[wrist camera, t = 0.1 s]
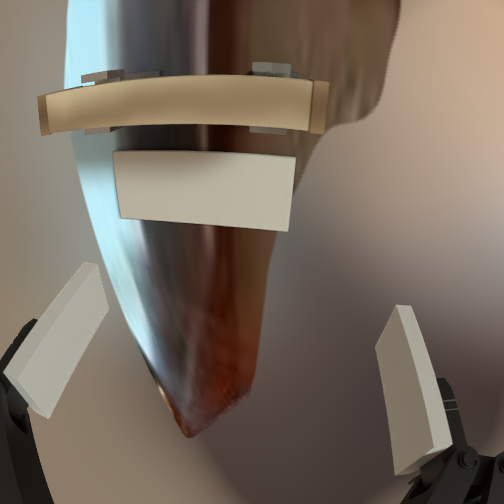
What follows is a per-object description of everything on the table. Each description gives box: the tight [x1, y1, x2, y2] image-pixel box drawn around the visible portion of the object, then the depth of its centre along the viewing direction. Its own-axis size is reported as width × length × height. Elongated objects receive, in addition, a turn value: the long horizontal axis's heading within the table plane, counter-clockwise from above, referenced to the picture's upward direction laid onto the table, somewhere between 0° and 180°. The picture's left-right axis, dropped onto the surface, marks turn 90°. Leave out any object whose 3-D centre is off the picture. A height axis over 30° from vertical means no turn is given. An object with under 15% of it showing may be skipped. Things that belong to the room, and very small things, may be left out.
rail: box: [38, 75, 329, 136], centre depth 23 cm, size 4×24×6 cm, turn 87°
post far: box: [81, 69, 163, 134], centre depth 29 cm, size 6×5×11 cm
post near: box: [249, 62, 299, 135], centre depth 28 cm, size 6×5×11 cm
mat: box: [112, 150, 296, 231], centre depth 40 cm, size 10×24×1 cm, turn 87°
